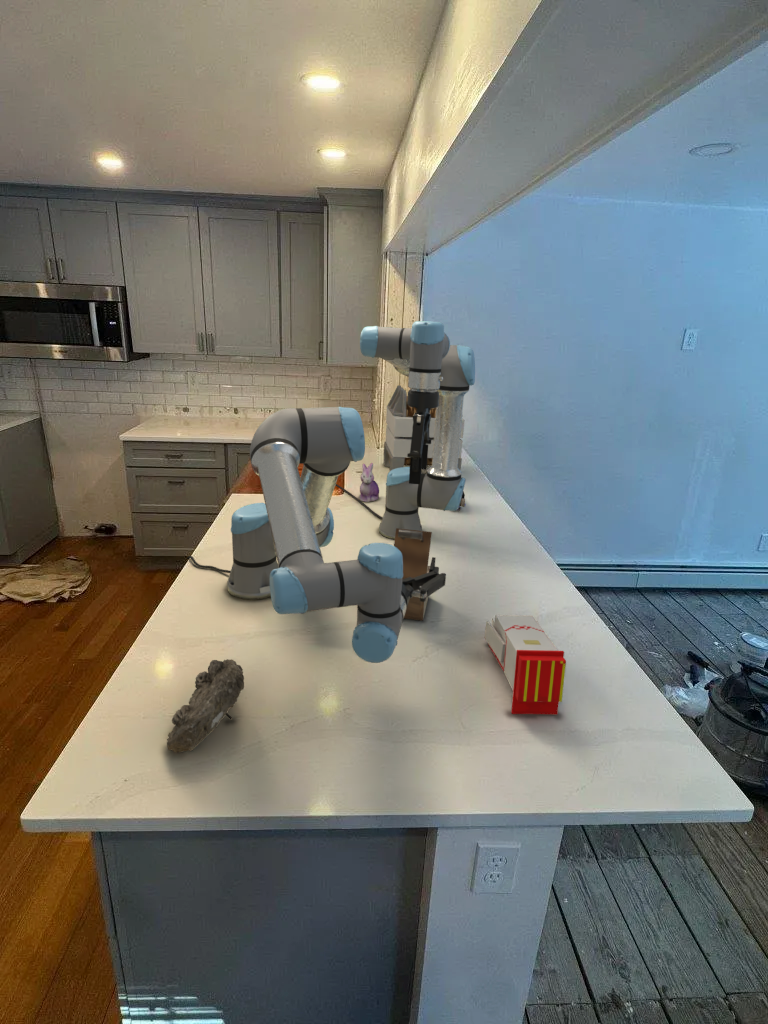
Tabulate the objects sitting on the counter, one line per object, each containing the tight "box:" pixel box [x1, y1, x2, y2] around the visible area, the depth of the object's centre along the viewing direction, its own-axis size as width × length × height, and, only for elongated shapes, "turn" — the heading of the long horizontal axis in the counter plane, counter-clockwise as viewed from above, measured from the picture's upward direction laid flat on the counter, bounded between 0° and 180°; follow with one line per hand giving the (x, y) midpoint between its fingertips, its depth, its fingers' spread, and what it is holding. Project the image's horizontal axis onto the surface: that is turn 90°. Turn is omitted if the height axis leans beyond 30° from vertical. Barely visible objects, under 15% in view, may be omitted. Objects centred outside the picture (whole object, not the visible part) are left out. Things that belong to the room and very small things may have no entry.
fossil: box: [166, 658, 245, 754], centre depth 106 cm, size 22×10×15 cm
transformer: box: [383, 384, 465, 472], centre depth 268 cm, size 34×33×41 cm
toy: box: [484, 614, 567, 716], centre depth 124 cm, size 12×13×30 cm
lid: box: [393, 528, 433, 579], centre depth 140 cm, size 14×9×9 cm
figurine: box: [358, 462, 380, 503], centre depth 232 cm, size 9×10×15 cm
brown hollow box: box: [404, 565, 430, 621], centre depth 150 cm, size 13×9×10 cm
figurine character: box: [457, 490, 466, 511], centre depth 229 cm, size 7×8×15 cm
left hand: (403, 559), depth 129 cm, fingers open, 13 cm apart
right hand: (418, 476), depth 142 cm, fingers open, 13 cm apart
